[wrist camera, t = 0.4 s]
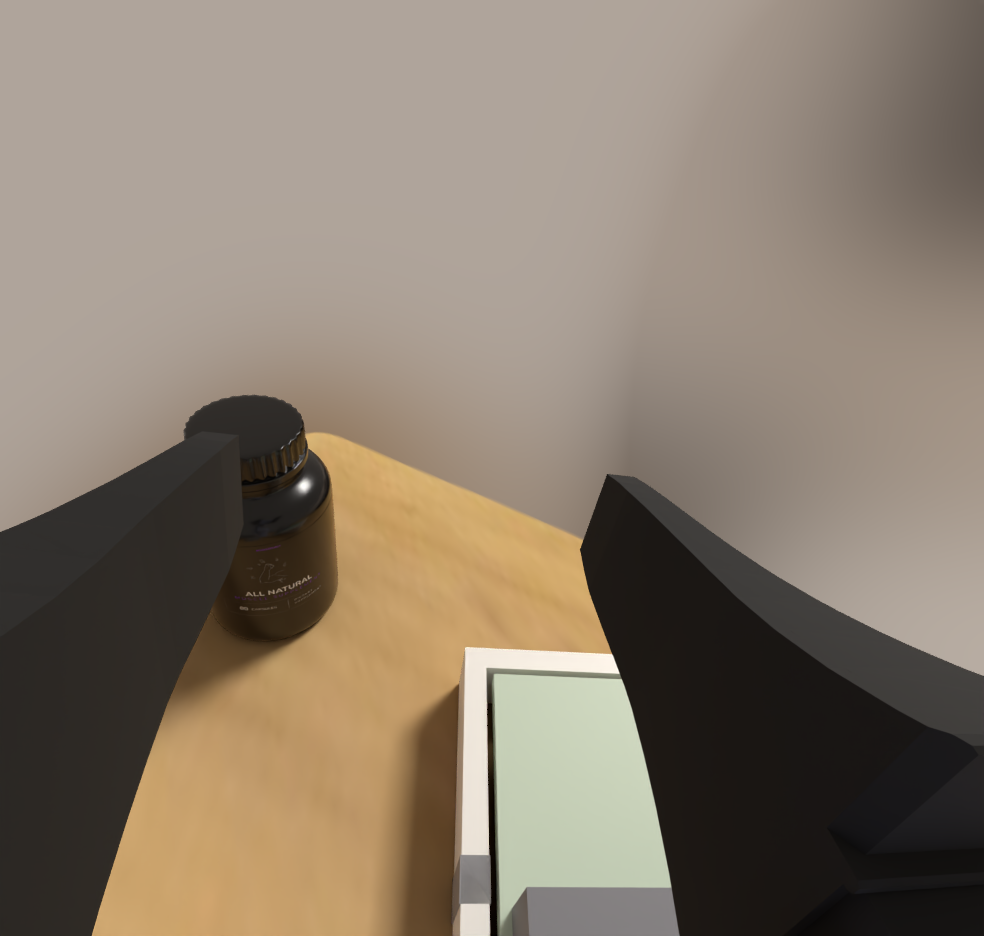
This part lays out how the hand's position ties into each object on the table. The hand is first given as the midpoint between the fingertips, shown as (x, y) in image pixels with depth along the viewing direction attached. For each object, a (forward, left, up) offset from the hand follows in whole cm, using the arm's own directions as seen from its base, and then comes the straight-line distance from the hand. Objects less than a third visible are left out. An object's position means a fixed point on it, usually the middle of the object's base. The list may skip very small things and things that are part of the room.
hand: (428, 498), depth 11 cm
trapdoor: (-1, -9, -16) cm, 18 cm away
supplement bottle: (+11, +8, -19) cm, 24 cm away
